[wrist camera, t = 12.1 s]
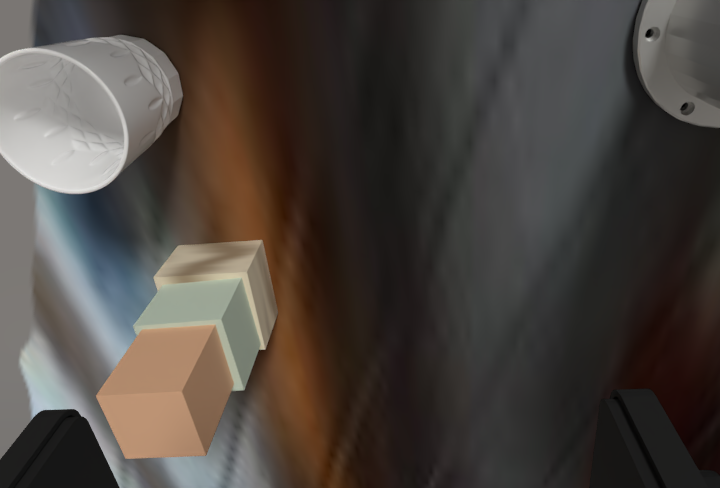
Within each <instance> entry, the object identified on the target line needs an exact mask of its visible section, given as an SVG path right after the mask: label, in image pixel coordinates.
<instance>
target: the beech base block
mask: <svg viewBox="0 0 720 488" xmlns="http://www.w3.org/2000/svg"><path fill="white" fill-rule="evenodd" d="M153 278H154V281H155V284H156V287H157V290H158V291H159V290H160V288H161V287H162V285H167V284H178V283H189V282H200V281H210V280H221V279H232V278H242V280H243V284H244V287H245V291H246V294H247V297H248V301H249V304H250V308H251V311H252V315H253V318H254V322H255V325H256V328H257V332H258V335H259V339H260V342H261V345H260V348H259V350H265V349H266V347H267V344H268V341H269V338H270V335H271V332H272V329H273V326H274V323H275V320H276V318H277V315H278V310H277V305H276V300H275V296H274V291H273V287H272V282H271V277H270V273H269V268H268V263H267V259H266V254H265V250H264V245H263V240H255V241H240V242H225V243H210V244H194V245H179V246H177V247H176V249H175V250H174V251H173V253H172V254H171V255H170V257H169V258H168V259H167V260H166V262H165V263H164V264H163V266H162V267H161V268H160V270H159V271H158V272H157V273H156V275H155V276H154V277H153Z"/></svg>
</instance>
